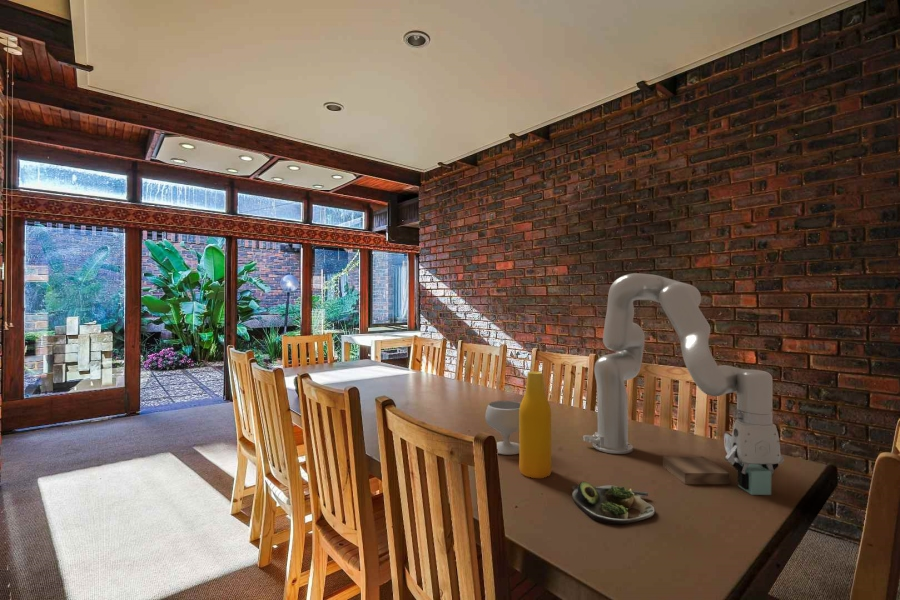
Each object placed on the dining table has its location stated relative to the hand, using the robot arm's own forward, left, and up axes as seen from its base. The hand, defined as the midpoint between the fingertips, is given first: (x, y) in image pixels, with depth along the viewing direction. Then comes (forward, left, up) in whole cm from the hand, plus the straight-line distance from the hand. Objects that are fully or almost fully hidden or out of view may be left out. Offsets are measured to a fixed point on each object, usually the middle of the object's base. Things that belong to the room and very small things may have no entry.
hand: (754, 486), depth 110 cm
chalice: (-61, +31, -1) cm, 68 cm away
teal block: (0, 0, -1) cm, 1 cm away
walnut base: (-10, +10, -1) cm, 14 cm away
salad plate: (-41, -8, -2) cm, 42 cm away
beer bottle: (-55, +12, -1) cm, 56 cm away
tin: (+9, +20, -1) cm, 22 cm away
